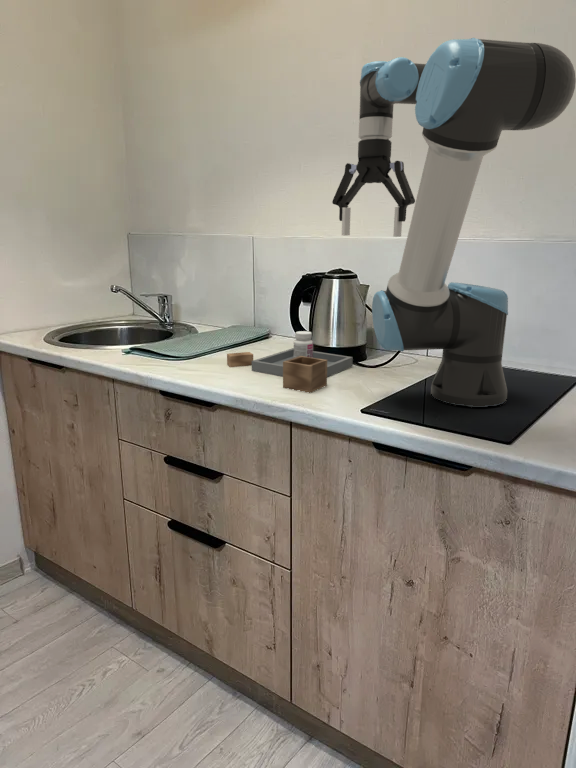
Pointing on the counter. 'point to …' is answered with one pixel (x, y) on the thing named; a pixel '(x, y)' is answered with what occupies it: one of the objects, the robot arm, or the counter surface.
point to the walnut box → (305, 373)
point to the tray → (275, 361)
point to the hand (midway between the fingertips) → (370, 236)
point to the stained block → (239, 359)
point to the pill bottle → (303, 344)
